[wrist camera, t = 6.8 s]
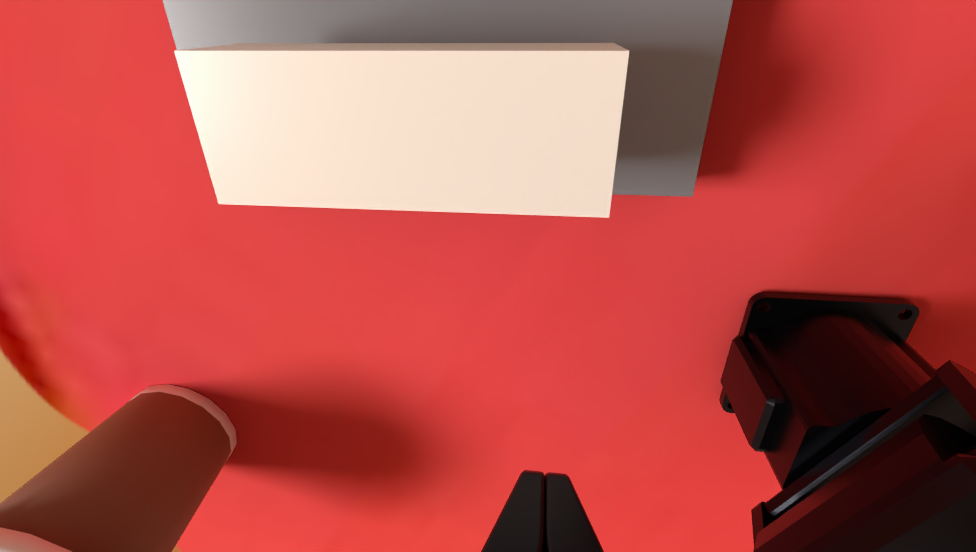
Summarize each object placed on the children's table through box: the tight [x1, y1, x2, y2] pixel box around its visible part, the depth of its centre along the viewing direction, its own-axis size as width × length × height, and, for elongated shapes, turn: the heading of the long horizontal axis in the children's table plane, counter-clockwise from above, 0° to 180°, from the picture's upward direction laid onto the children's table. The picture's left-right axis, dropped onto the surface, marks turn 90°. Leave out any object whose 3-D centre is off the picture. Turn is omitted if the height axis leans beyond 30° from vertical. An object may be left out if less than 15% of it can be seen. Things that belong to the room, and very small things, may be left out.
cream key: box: [174, 43, 629, 218], centre depth 14 cm, size 11×4×3 cm, turn 91°
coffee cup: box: [0, 384, 237, 552], centre depth 24 cm, size 9×9×12 cm
